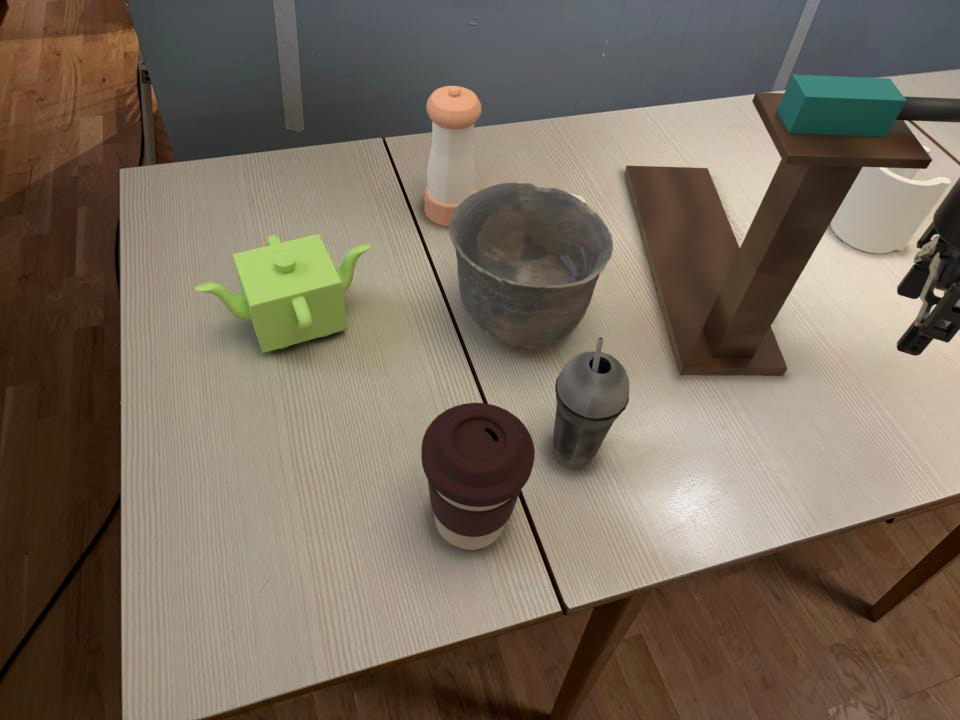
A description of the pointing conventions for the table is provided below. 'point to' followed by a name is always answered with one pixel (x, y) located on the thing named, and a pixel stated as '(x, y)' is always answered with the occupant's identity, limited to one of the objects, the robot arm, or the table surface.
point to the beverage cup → (587, 405)
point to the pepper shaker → (450, 151)
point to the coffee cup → (475, 471)
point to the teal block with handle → (855, 106)
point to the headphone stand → (748, 240)
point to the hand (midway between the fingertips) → (906, 321)
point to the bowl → (528, 261)
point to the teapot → (290, 290)
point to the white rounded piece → (886, 208)
